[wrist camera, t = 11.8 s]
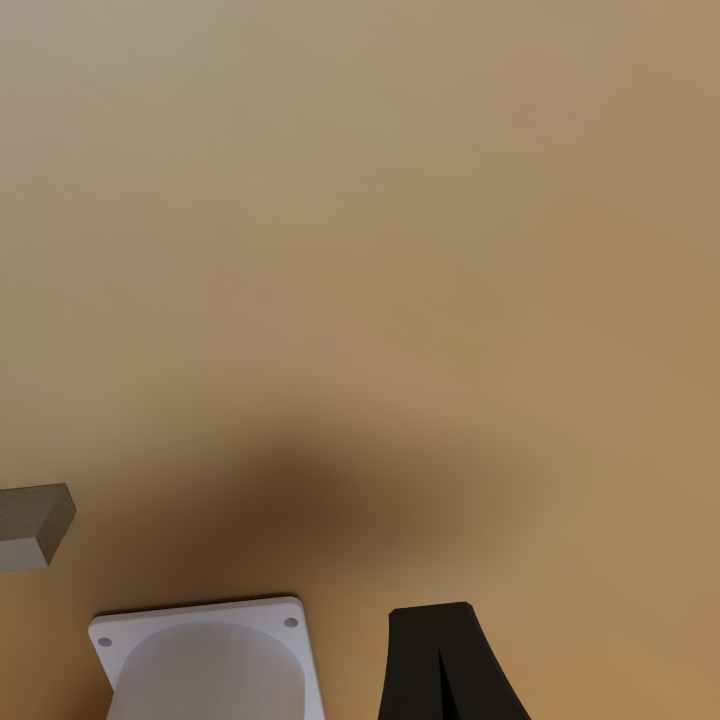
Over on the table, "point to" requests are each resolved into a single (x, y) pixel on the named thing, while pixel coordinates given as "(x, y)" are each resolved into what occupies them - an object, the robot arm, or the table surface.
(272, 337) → the table surface
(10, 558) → the u-shaped bracket
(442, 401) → the table surface
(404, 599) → the table surface
